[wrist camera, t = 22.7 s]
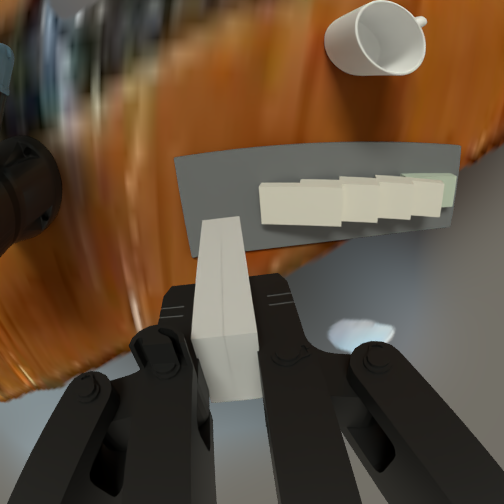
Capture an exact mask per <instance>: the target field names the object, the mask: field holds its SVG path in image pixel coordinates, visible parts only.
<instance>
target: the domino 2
mask: <svg viewBox="0 0 504 504" xmlns="http://www.w3.org/2000/svg"><path fill="white" fill-rule="evenodd" d="M300 183H332V184H342V187H343V192H342V220H341V221H348V222H371V223H377V221H378V210H379V198H380V184H379V182H374V181H354V180H326V179H301V180H300Z"/></svg>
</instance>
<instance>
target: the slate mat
mask: <svg viewBox="0 0 504 504" xmlns="http://www.w3.org/2000/svg"><path fill="white" fill-rule="evenodd" d="M460 154H461V146H459V145H449V144H434V143H413V142H326V143H304V144H288V145H274V146H263V147H252V148H242V149H233V150H224V151H216V152H208V153H201V154H194V155H187V156H180V157H175V158H174V162H175V168H176V174H177V180H178V186H179V192H180V197H181V203H182V208H183V214H184V219H185V224H186V229H187V235H188V240H189V245H190V250H191V254H192V258H193V257H198V255H199V246H200V237H201V228H202V220H210V219H219V218H227V217H235V216H239V217H240V224H241V230H242V237H243V244H244V250H245V251H251V250H260V249H268V248H276V247H285V246H293V245H302V244H310V243H318V242H327V241H335V240H344V239H352V238H361V237H369V236H377V235H386V234H394V233H402V232H411V231H420V230H428V229H437V228H446V227H450V224H451V218H452V214H453V208H454V202H455V195H456V189H457V188H456V187H457V180H458V173H459V165H460ZM409 173H451V174H453V175H455V176H457V179H456V187H455V194H454V200H453V206H452V207H441V212H440V217H428V216H414V215H411V219H410V220H405V219H389V218H378V221H377V223H371V222H348V221H341V227H339V226H312V225H279V224H262V222H261V209H260V196H259V185H260V184H261V183H300V180H301V179H326V180H339V176H345V177H366V178H375V175H386V176H400V174H409Z"/></svg>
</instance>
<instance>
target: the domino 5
mask: <svg viewBox="0 0 504 504" xmlns="http://www.w3.org/2000/svg"><path fill="white" fill-rule="evenodd" d="M400 177H412V178H423V179H433V180H441V181H442V182H443V183H444V184H445V185H444V192H443V199H442V206H441V207H452V206H453V200H454V194H455V187H456V179H457V176H455V175H453V174H451V173H409V174H400Z"/></svg>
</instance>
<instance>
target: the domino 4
mask: <svg viewBox="0 0 504 504" xmlns="http://www.w3.org/2000/svg"><path fill="white" fill-rule="evenodd" d="M375 178H382V179H397V180H409V181H412V182H413V183H414V184H415V185H414V195H413V203H412V211H411V215H414V216H428V217H440V212H441V206H442V199H443V192H444V185H445V184H444V183H443V182H442V181H441V180H433V179H423V178H412V177H400V176H386V175H375Z"/></svg>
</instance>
